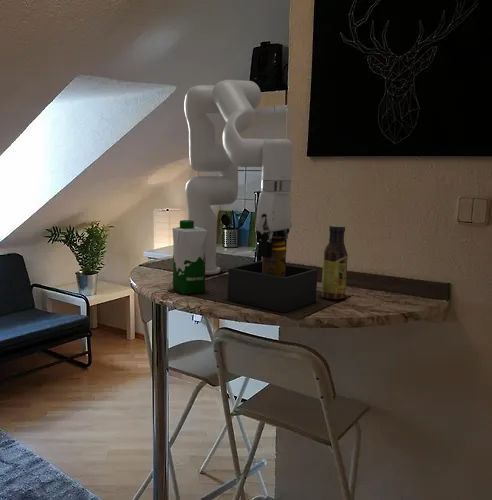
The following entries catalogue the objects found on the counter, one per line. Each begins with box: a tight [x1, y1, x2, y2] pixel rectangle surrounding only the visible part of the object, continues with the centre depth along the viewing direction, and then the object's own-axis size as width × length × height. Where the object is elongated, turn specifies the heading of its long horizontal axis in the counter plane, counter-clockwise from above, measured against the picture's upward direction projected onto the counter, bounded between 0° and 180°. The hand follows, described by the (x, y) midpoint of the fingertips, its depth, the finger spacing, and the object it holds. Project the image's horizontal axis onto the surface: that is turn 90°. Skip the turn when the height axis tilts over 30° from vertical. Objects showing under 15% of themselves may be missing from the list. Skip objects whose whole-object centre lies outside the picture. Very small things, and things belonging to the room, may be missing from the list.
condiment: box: [261, 235, 287, 277], centre depth 153 cm, size 7×8×12 cm
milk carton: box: [172, 219, 208, 295], centre depth 165 cm, size 9×9×20 cm
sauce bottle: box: [321, 224, 349, 301], centre depth 158 cm, size 6×6×20 cm
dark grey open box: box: [227, 260, 319, 314], centre depth 155 cm, size 18×16×9 cm
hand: (273, 254), depth 154 cm, fingers closed on condiment, 6 cm apart
